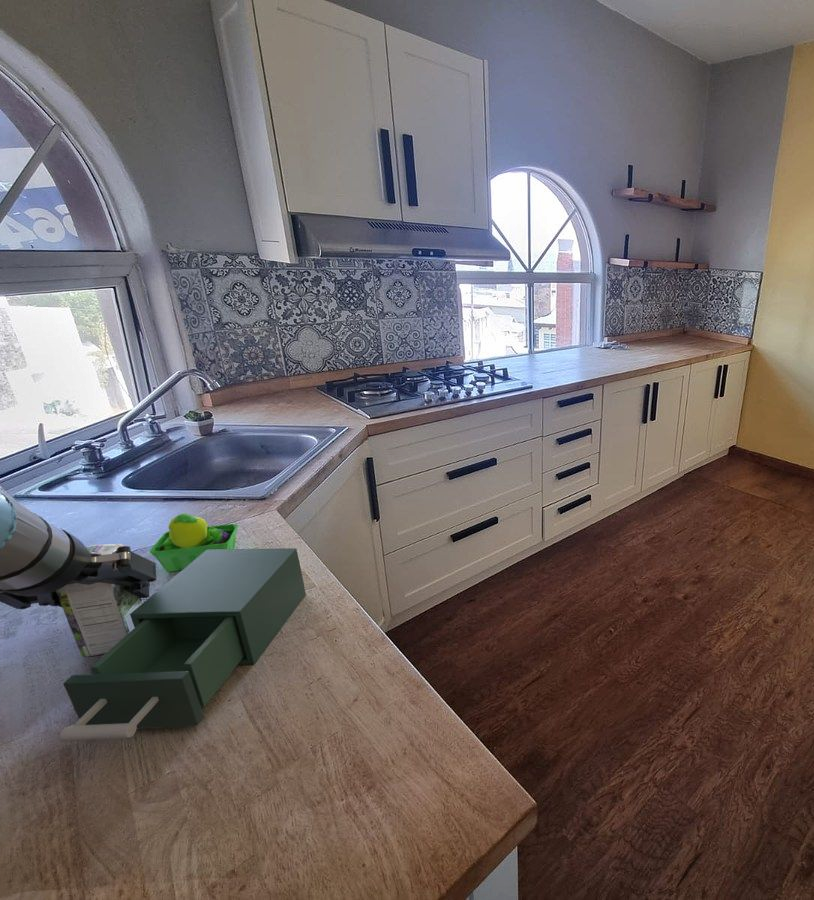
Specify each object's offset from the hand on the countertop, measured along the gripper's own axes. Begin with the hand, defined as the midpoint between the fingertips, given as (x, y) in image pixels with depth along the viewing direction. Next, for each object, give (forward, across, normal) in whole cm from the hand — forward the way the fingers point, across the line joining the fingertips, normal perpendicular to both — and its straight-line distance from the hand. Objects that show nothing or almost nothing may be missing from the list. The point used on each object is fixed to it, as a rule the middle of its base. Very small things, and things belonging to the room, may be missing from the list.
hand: (114, 595), depth 74 cm
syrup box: (+1, 0, +6) cm, 7 cm away
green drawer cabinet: (-2, -14, +10) cm, 17 cm away
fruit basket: (+15, -8, -7) cm, 18 cm away
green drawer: (-11, -9, +18) cm, 23 cm away
